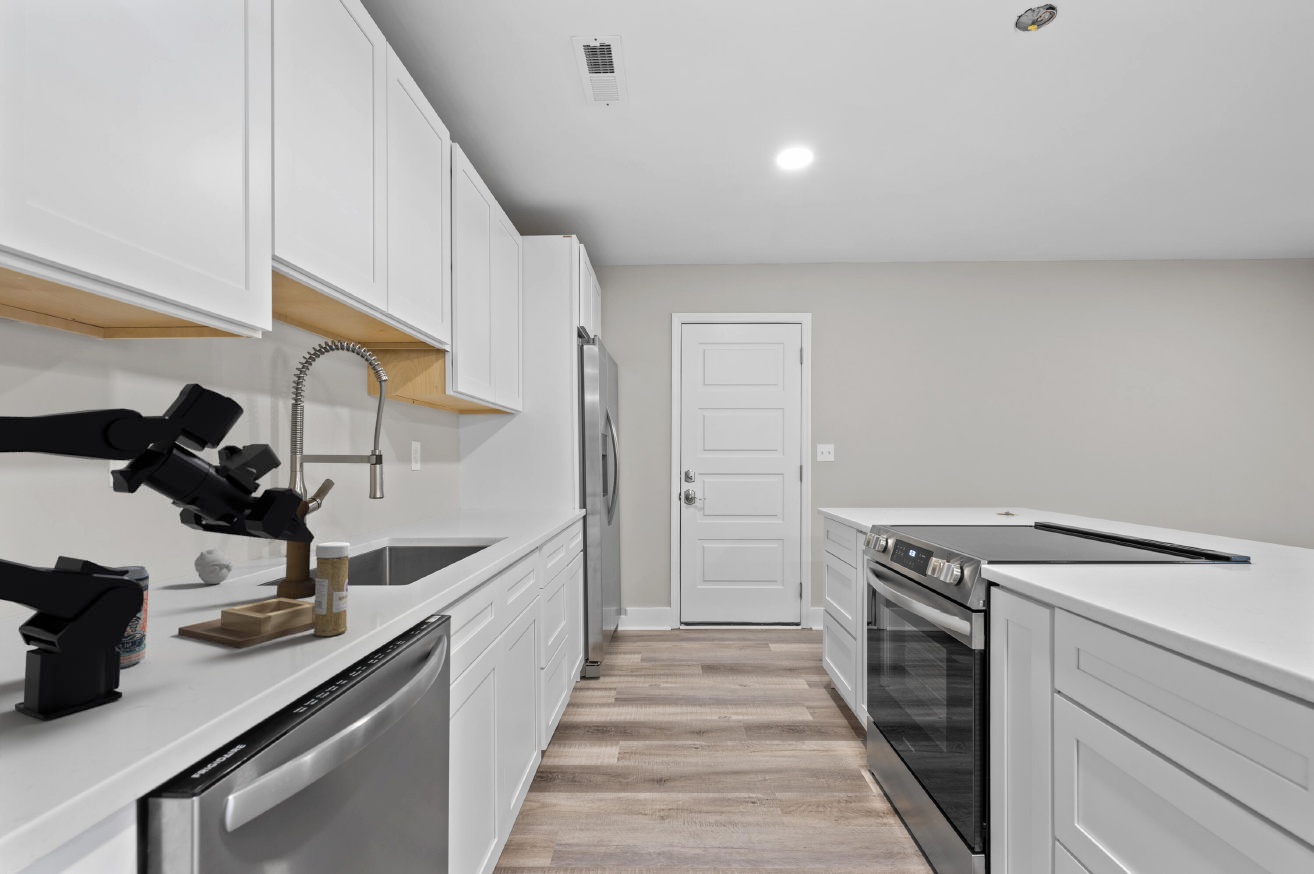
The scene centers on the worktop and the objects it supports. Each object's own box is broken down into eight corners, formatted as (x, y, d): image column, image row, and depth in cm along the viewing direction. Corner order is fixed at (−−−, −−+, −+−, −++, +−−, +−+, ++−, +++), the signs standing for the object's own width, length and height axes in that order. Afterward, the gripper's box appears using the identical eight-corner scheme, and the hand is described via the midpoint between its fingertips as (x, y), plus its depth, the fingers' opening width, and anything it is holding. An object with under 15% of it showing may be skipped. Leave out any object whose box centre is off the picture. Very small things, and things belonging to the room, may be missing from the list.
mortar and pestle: (270, 599, 111) (274, 501, 111) (283, 592, 117) (287, 499, 118) (310, 598, 112) (314, 501, 113) (321, 590, 119) (324, 499, 119)
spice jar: (348, 634, 90) (352, 544, 91) (314, 639, 88) (317, 546, 88) (345, 626, 94) (348, 540, 95) (311, 631, 92) (314, 542, 92)
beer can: (109, 673, 73) (114, 573, 74) (85, 667, 75) (90, 570, 75) (154, 660, 78) (158, 567, 78) (130, 656, 79) (134, 564, 80)
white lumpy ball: (215, 579, 127) (216, 546, 128) (240, 582, 125) (241, 548, 126) (185, 585, 122) (186, 550, 122) (211, 588, 120) (212, 552, 120)
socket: (240, 648, 83) (241, 622, 83) (178, 634, 89) (179, 610, 89) (337, 622, 97) (337, 600, 97) (277, 611, 103) (278, 590, 103)
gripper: (275, 426, 75) (364, 491, 86) (188, 427, 82) (280, 487, 94) (219, 505, 69) (323, 563, 80) (131, 498, 77) (237, 552, 88)
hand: (290, 537), depth 86 cm, fingers open, 9 cm apart
